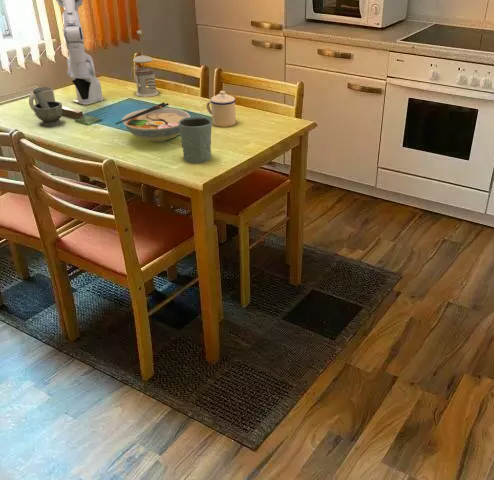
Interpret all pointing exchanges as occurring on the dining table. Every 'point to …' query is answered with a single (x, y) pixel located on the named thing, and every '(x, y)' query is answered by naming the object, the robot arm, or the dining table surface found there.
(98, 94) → the robot arm
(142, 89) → the french press
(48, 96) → the cup
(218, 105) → the teacup with lid
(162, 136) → the ramen bowl
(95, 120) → the spatula
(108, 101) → the dining table surface
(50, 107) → the mortar and pestle
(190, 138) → the grey embossed tumbler
